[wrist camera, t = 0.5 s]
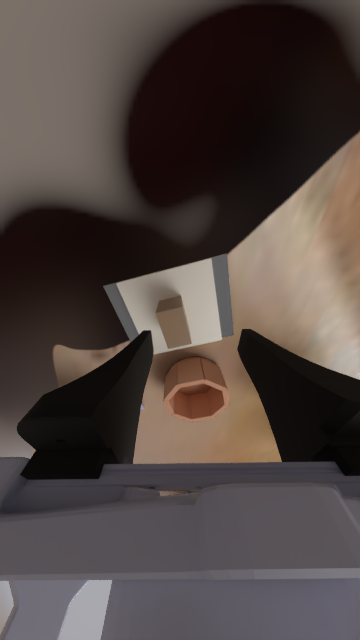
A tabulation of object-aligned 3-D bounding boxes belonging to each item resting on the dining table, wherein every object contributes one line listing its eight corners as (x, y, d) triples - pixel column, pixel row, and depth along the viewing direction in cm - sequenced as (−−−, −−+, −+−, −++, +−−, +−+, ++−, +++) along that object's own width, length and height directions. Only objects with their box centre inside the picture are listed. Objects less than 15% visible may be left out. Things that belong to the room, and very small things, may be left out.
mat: (138, 354, 24) (137, 355, 24) (104, 285, 19) (103, 286, 18) (232, 333, 23) (233, 335, 22) (225, 253, 17) (226, 253, 17)
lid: (149, 353, 24) (143, 375, 19) (117, 282, 18) (100, 292, 14) (221, 337, 23) (231, 357, 18) (210, 257, 17) (221, 261, 13)
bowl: (174, 398, 30) (174, 424, 25) (160, 363, 25) (157, 388, 21) (222, 389, 29) (231, 415, 24) (216, 351, 24) (225, 375, 20)
